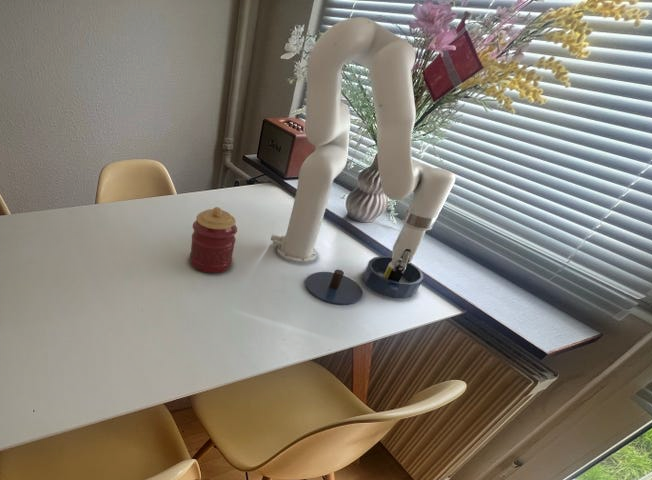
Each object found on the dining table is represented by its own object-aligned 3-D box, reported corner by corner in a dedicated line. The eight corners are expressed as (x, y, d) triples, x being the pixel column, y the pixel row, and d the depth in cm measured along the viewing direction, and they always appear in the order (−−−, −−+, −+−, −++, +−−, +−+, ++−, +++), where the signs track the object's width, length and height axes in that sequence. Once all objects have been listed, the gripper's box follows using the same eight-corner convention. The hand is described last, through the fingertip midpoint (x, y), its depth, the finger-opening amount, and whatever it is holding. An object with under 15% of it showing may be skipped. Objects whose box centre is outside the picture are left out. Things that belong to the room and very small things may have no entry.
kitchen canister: (210, 279, 125) (217, 222, 113) (180, 260, 132) (184, 204, 120) (240, 265, 132) (250, 210, 120) (210, 248, 139) (217, 194, 127)
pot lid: (299, 297, 121) (305, 278, 117) (310, 270, 132) (315, 252, 128) (358, 313, 117) (366, 294, 113) (363, 283, 128) (371, 265, 124)
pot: (358, 295, 123) (365, 280, 120) (365, 262, 138) (371, 247, 134) (414, 310, 120) (423, 294, 116) (415, 275, 134) (423, 260, 130)
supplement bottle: (398, 289, 126) (410, 264, 121) (381, 287, 127) (393, 262, 121) (395, 281, 130) (407, 256, 124) (379, 278, 130) (390, 253, 125)
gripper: (405, 203, 121) (381, 258, 133) (403, 228, 109) (377, 286, 121) (434, 209, 119) (407, 265, 131) (435, 235, 107) (405, 294, 119)
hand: (393, 275), depth 126 cm, fingers open, 7 cm apart
